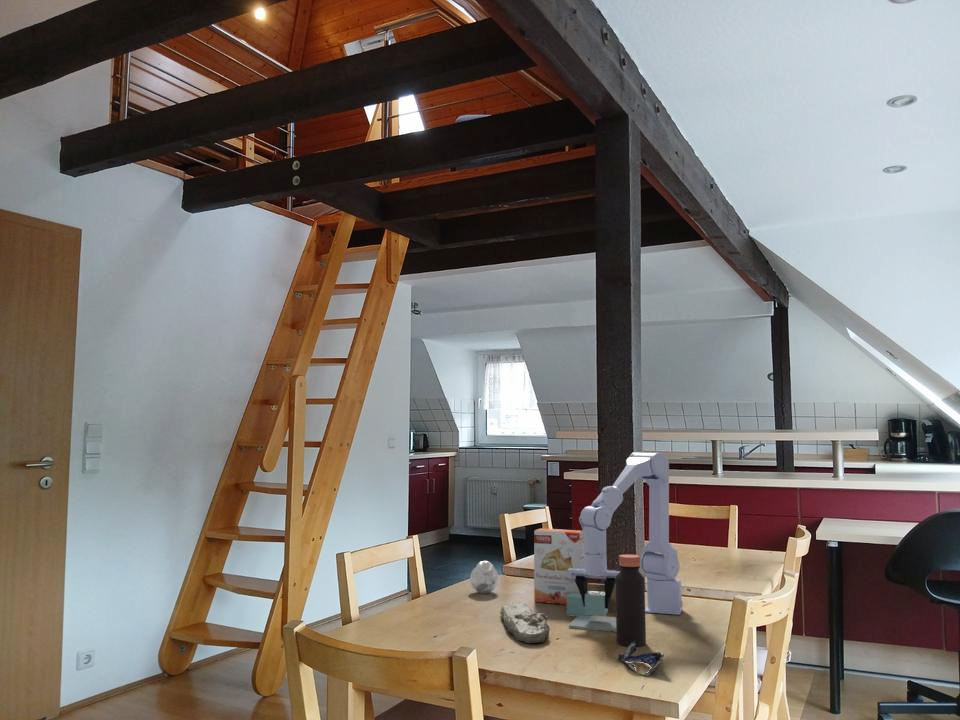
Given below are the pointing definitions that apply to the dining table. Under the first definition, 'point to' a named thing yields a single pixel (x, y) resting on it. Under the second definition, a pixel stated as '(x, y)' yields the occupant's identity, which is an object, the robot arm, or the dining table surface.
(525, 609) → the elongated rock
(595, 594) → the lettered cube
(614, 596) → the walnut screen
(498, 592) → the dining table surface
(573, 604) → the blank cube
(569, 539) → the cracker box
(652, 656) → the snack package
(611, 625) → the slate tile
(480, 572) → the grey egg-shaped stone
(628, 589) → the bottle
